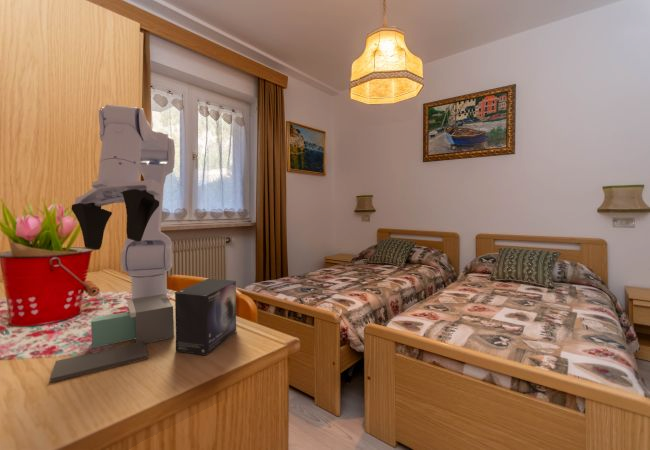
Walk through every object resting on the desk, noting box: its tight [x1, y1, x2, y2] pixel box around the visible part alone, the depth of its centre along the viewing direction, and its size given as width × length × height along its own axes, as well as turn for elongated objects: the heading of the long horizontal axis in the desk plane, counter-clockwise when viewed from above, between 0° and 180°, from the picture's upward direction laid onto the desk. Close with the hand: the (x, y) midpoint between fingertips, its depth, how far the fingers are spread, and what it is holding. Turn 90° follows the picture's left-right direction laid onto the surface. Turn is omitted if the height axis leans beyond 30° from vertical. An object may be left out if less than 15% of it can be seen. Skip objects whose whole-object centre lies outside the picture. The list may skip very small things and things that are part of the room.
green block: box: [90, 311, 136, 349], centre depth 58 cm, size 2×10×5 cm, turn 125°
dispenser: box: [126, 294, 175, 345], centre depth 61 cm, size 10×7×6 cm
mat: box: [49, 341, 148, 383], centre depth 50 cm, size 6×12×1 cm, turn 125°
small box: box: [174, 277, 237, 356], centre depth 57 cm, size 11×6×10 cm, turn 168°
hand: (113, 244), depth 49 cm, fingers open, 7 cm apart
